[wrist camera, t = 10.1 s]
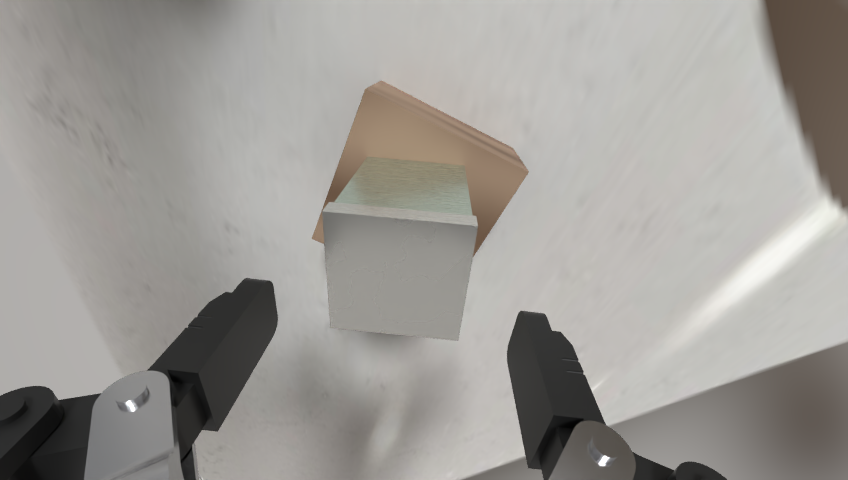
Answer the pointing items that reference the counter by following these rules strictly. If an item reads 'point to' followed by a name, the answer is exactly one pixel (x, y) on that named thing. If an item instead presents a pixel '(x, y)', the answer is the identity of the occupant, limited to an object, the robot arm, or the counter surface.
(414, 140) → the walnut block
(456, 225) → the tea tin
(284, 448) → the counter surface
